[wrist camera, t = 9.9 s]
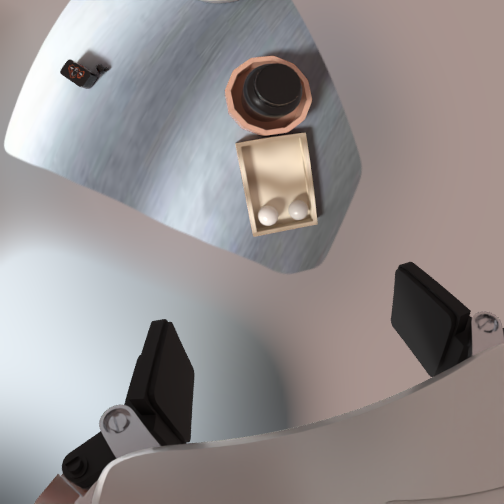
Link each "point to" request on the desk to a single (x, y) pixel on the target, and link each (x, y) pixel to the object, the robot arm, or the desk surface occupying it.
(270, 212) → the pebble
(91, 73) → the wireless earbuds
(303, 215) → the pebble
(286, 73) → the supplement bottle
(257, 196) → the tray
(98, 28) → the desk surface
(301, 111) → the bowl
